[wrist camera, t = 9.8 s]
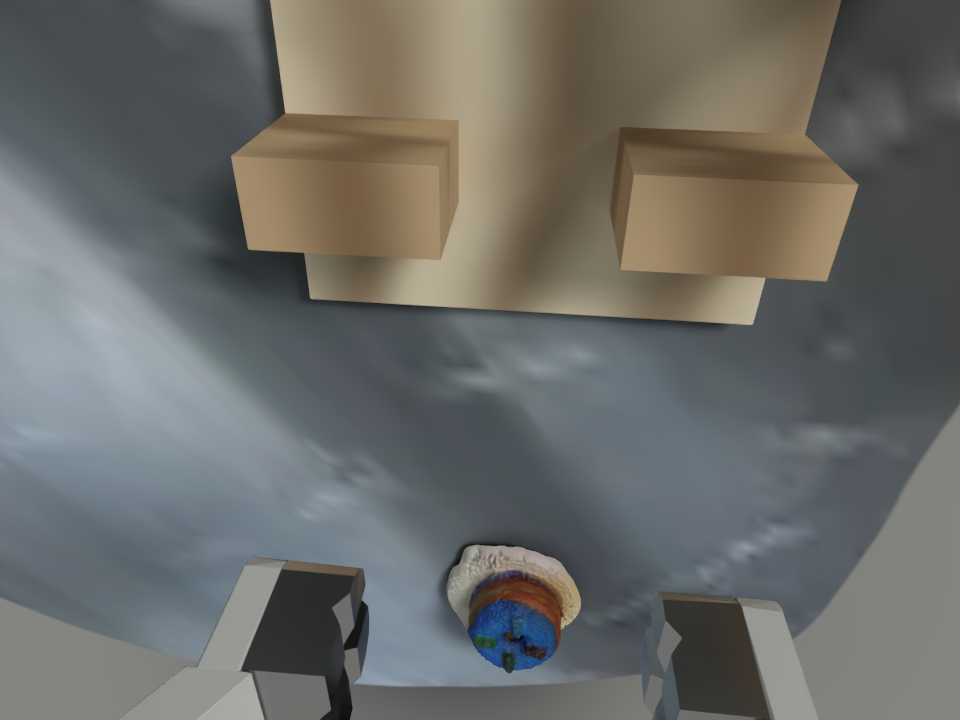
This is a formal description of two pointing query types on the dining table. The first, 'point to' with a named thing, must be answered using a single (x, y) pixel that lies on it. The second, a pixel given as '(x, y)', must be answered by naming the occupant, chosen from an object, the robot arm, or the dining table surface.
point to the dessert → (512, 603)
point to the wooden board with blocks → (549, 154)
